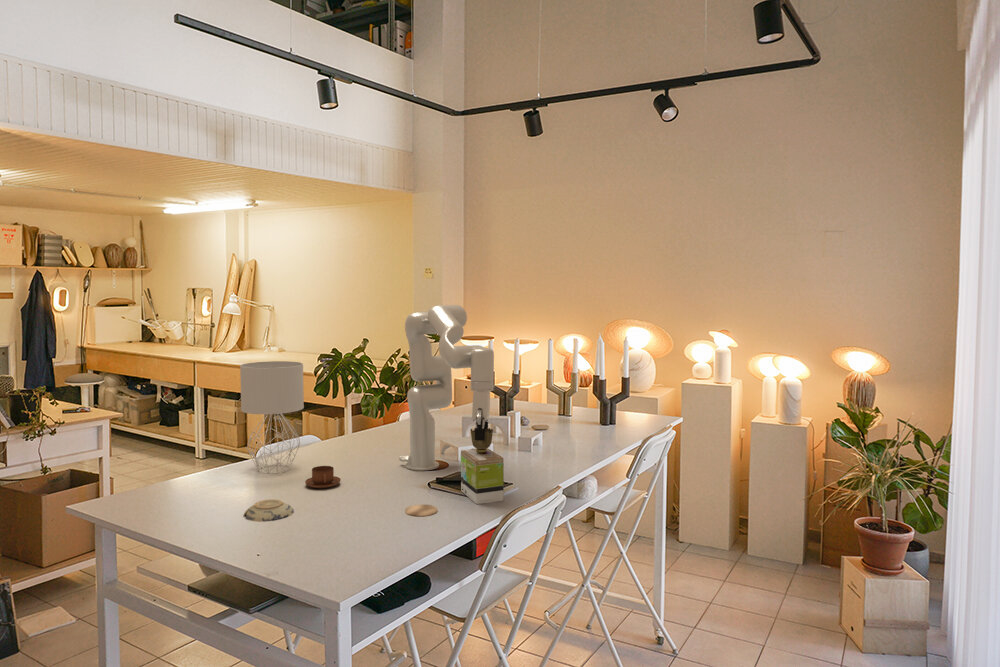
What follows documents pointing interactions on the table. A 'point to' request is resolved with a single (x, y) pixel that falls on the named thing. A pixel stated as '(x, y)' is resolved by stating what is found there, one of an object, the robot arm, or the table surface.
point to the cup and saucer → (322, 477)
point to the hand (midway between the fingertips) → (481, 436)
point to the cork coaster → (421, 510)
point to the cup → (481, 444)
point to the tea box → (482, 476)
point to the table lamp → (272, 397)
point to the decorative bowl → (268, 511)
